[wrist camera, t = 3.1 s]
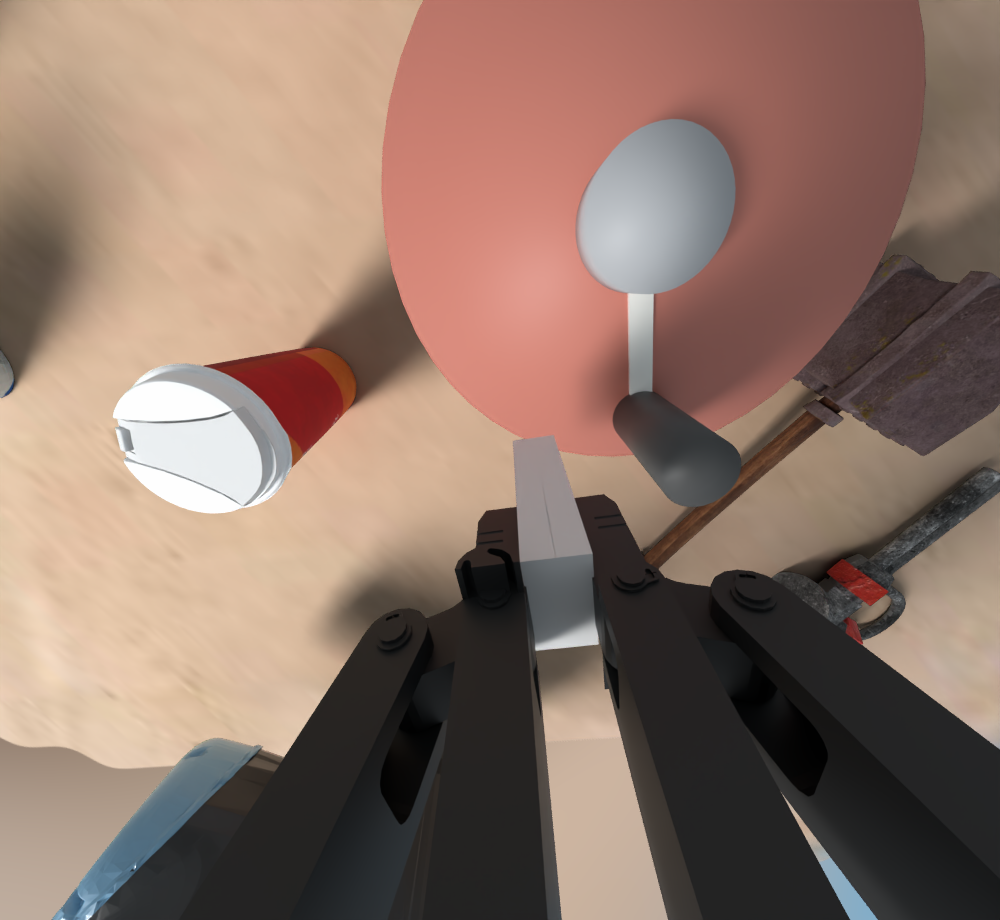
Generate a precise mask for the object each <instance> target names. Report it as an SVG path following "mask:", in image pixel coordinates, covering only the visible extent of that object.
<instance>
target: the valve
mask: <svg viewBox="0 0 1000 920" xmlns="http://www.w3.org/2000/svg"><path fill="white" fill-rule="evenodd" d="M999 492H1000V473H998V472H996V471H994V470H992V469H990V468H987V467H983V468H982V469H981V470H980V471H978V472H977V473H976V474H975V475H973V476H972V477H971V478H970V479H968V480H967V481H966V482H965V483H963V484H962V485H961V486H960V487H958V488H957V489H956V490H955V491H953V492H952V493H951V494H950V495H948V496H947V497H946V498H945V499H943V500H942V501H941V502H940V503H938V504H937V505H936V506H935V507H933V508H932V509H931V510H930V511H928V512H927V513H926V514H925V515H923V516H922V517H921V518H920V519H918V520H917V521H916V522H915V523H913V524H912V525H911V526H910V527H908V528H907V529H906V530H905V531H903V532H902V533H901V534H900V535H898V536H897V537H896V538H895V539H893V540H892V541H891V542H890V543H888V544H887V545H886V546H885V547H883V548H882V549H881V550H880V551H878V552H877V553H876V554H875V555H873V556H872V557H871V558H870V559H867V558H866V557H864V556H862V555H861V554H856V555H854V556H851V557H849V558H847V559H841V560H840V561H839V562H838V563H837V564H835V565H834V566H833V567H832V568H831V569H829V570H828V571H827V572H826V573H827V574H829V575H830V576H831V577H830V578H829V579H826V578H824V579H823V580H822V581H821V582H820V583H819V584H817V583H815V582H814V581H812V580H811V579H809V578H808V577H806V576H803V575H801V574H797V573H792V572H781V573H777V574H776V575H775V576H774V577H772V579H773V580H775V581H777V582H778V583H780V584H782V585H783V586H785V587H786V588H787V589H789V590H790V591H791V592H793V593H794V594H795V595H797V596H798V597H799V598H801V599H802V600H803V601H805V602H806V603H807V604H809V605H810V606H811V607H812V608H814V609H815V610H816V611H818V612H819V613H820V614H822V615H823V616H824V617H826V618H827V619H828V620H830V621H831V622H832V623H834V624H835V625H836V626H838V627H839V628H840V629H841V630H843V631H844V632H845V633H847V634H848V635H849V636H851V637H852V638H853V639H855V640H856V641H857V642H859V643H860V644H863V642H862V640H866V639H868V638H871V637H873V636H875V635H877V634H879V633H881V632H882V631H884V630H886V629H887V628H888V627H890V626H891V625H892V624H893V623H894V622H895V621H896V620H897V619H898V618H899V617H900V616H901V614H902V613H903V611H904V609H905V605H906V602H905V598H904V596H903V595H902V594H901V593H900V592H899V591H897V590H896V589H895V588H893V587H892V586H891V584H892V582H893V581H894V577H893V576H892V574H893V573H894V572H895V571H897V570H898V569H899V568H901V567H902V566H903V565H905V564H906V563H907V562H909V561H910V560H911V559H912V558H914V557H915V556H916V555H918V554H919V553H920V552H922V551H923V550H924V549H926V548H927V547H928V546H929V545H931V544H932V543H933V542H935V541H936V540H937V539H939V538H940V537H941V536H943V535H944V534H945V533H946V532H948V531H949V530H950V529H952V528H953V527H954V526H956V525H957V524H958V523H960V522H961V521H962V520H963V519H965V518H966V517H967V516H969V515H970V514H971V513H973V512H974V511H975V510H977V509H978V508H979V507H981V506H982V505H983V504H984V503H986V502H987V501H988V500H990V499H991V498H992V497H994V496H995V495H996V494H998V493H999ZM885 594H886V595H888V596H889V597H890V598H891V599H892V603H891V606H890V608H889V609H888V611H887V612H886V613H885V614H884V615H883V616H882V617H881V618H880V619H879V620H877V621H876V622H874V623H873V624H871V625H869V626H868V627H866V628H863V629H861V630H859V629H858V626H857V623H856V622H855V621H854V620H852V619H850V618H849V617H848V616H850V615H851V614H853V613H854V612H855V611H857V610H858V609H859V608H861V607H862V605H860V604H861V603H862V602H863V601H864V602H866V603H867V604H868V605H870V606H871V605H872V604H874V603H875V602H876V601H878V600H879V599H880V598H881V597H883V596H884V595H885Z"/></svg>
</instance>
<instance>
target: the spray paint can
mask: <svg viewBox="0 0 1000 920" xmlns="http://www.w3.org/2000/svg"><path fill="white" fill-rule="evenodd" d="M13 384H14V376H13V371H12V368H11V366H10V364H9V361H8V360H7V359H6V357H5V356H4V354H3V353H2V351H1V350H0V398H2V397H4V396H6V395H8V394H9V393H10V391H11V390H12V389H13Z"/></svg>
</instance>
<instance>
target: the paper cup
mask: <svg viewBox="0 0 1000 920" xmlns="http://www.w3.org/2000/svg"><path fill="white" fill-rule="evenodd" d="M355 395H356V380H355V377H354V374H353V372H352V370H351V368H350V367H349V366H348V364H347V363H346V362H345V361H344V360H343V359H342V358H341V357H340V356H338V355H337V354H335V353H333V352H331V351H329V350H326V349H323V348H302V349H295V350H289V351H283V352H277V353H272V354H266V355H260V356H255V357H249V358H244V359H238V360H233V361H227V362H222V363H216V364H211V365H205V366H201V365H193V364H171V365H166V366H161V367H158V368H156V369H153V370H151V371H149V372H147V373H146V374H145V375H143V376H142V377H140V378H139V380H138V381H137V382H136V383H135V384H134V385H133V387H132V388H131V389H130V390H128V391H127V392H126V393H125V394H124V395H123V396H122V398H121V399H120V400H119V402H118V404H117V406H116V408H115V410H114V414H113V418H117V419H118V424H119V427H115V429H116V433H117V437H118V441H119V445H120V449H121V450H122V451H124V452H125V453H126V456H127V458H125V459H124V463H125V464H126V466H127V467H128V468H129V470H130V471H131V472H132V473H133V474H134V476H135V477H136V478H137V479H138V480H139V481H140V482H141V483H142V484H144V485H145V486H146V487H147V488H148V489H150V490H151V491H152V492H154V493H155V494H156V495H158V496H160V497H161V498H163V499H165V500H166V501H168V502H171V503H173V504H175V505H177V506H180V507H183V508H185V509H188V510H193V511H197V512H204V513H224V512H230V511H234V510H237V509H240V508H245V507H251V506H254V505H257V504H260V503H262V502H263V501H265V500H267V499H269V498H270V497H271V496H272V495H274V494H275V493H276V492H277V491H278V490H279V488H280V487H281V486H282V484H283V482H284V480H285V478H286V476H287V474H288V473H289V471H290V469H291V468H292V467H293V466H294V465H295V464H296V463H297V462H298V461H299V460H300V459H301V458H302V457H303V456H304V455H305V454H306V453H307V452H308V450H309V449H310V448H311V447H312V446H313V445H314V444H315V443H316V442H317V441H318V440H319V439H320V438H321V437H322V436H323V435H324V434H325V433H326V432H327V431H328V430H329V429H330V428H331V427H332V426H333V425H334V424H335V423H336V422H337V421H338V420H339V418H340V417H341V416H342V415H343V414H344V413H345V412H346V411H347V410H348V408H349V407H350V406H351V404H352V403H353V401H354V399H355Z"/></svg>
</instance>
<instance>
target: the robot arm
mask: <svg viewBox="0 0 1000 920" xmlns="http://www.w3.org/2000/svg"><path fill="white" fill-rule="evenodd" d="M513 450H514V468H515V485H516V503H517V507H512V508H505V509H497V510H489V511H486V512H485V513H484V515H483V516H482V518H481V519H480V520H479V522H478V531H477V540H476V548H475V549H473V550H471V551H469V552H467V553H466V554H465V555H464V556H463V557H462V558H461V559H460V560H459V561H458V563H457V565H456V568H455V572H456V576H457V579H458V583H459V587H460V590H461V594H462V598H463V600H462V601H461V602H459V603H458V604H457V605H455V606H454V607H453V608H451V609H449V610H446V611H444V612H442V613H439V614H437V615H434V616H432V617H429V618H427V619H426V618H425V617H424V616H423V615H422V614H421V612H420V611H417V610H413V609H410V608H408V609H397V610H395V611H392V612H390V613H387V614H385V615H384V616H382V617H381V618H379V619H378V620H376V621H375V622H374V623H373V624H372V625H371V627H370V628H369V629H368V630H367V631H366V633H365V634H364V636H363V637H362V639H361V640H360V642H359V643H358V645H357V646H356V648H355V649H354V651H353V653H352V654H351V656H350V657H349V659H348V660H347V662H346V663H345V665H344V666H343V668H342V669H341V671H340V672H339V674H338V676H337V677H336V679H335V680H334V682H333V683H332V685H331V686H330V688H329V689H328V691H327V692H326V694H325V696H324V697H323V699H322V700H321V702H320V703H319V705H318V706H317V708H316V709H315V711H314V712H313V714H312V716H311V717H310V719H309V720H308V722H307V723H306V725H305V726H304V728H303V729H302V731H301V732H300V734H299V736H298V737H297V739H296V740H295V742H294V743H293V745H292V746H291V748H290V749H289V751H288V752H287V754H286V755H285V757H282V756H279V755H277V754H274V753H271V752H268V751H265V750H262V747H263V746H261V745H256V746H250V745H246V744H242V743H238V742H234V741H231V740H227V739H223V738H213V739H209V740H206V741H204V742H202V743H200V744H198V745H197V746H195V747H194V748H193V749H192V750H190V751H189V752H188V753H187V754H186V755H185V756H184V757H183V758H182V759H181V760H180V761H179V762H178V763H177V764H176V766H175V767H174V768H173V769H172V770H171V771H170V773H169V774H168V775H167V776H166V777H165V778H164V779H163V781H162V782H161V783H160V784H159V785H158V786H157V788H156V789H155V790H154V791H153V792H152V794H151V795H150V796H149V797H148V798H147V799H146V801H145V802H144V803H143V804H142V805H141V807H140V808H139V809H138V810H137V812H136V813H135V814H134V815H133V816H132V818H131V819H130V820H129V821H128V823H127V824H126V825H125V826H124V827H123V829H122V830H121V831H120V832H119V834H118V835H117V836H116V837H115V839H114V840H113V841H112V842H111V844H110V845H109V846H108V847H107V849H106V850H105V851H104V852H103V854H102V855H101V856H100V857H99V859H98V860H97V861H96V863H95V864H94V865H93V866H92V868H91V869H90V870H89V872H88V873H87V874H86V875H85V877H84V878H83V879H82V881H81V882H80V884H79V886H78V887H77V888H76V889H75V891H74V892H73V893H72V894H71V896H70V897H69V898H68V900H67V901H66V903H65V904H64V905H63V907H62V908H61V909H60V910H59V911H58V912H57V913H56V915H55V916H54V917H53V919H52V920H562V918H561V907H560V896H559V886H558V875H557V864H556V853H555V842H554V832H553V821H552V810H551V799H550V789H549V778H548V769H547V768H548V767H547V756H546V745H545V734H544V723H543V712H542V702H541V691H540V680H539V671H538V666H537V660H536V651H538V650H548V649H558V648H568V647H578V646H588V645H598V644H599V643H598V636H599V640H600V644H601V647H602V651H603V667H604V684H605V689H609V691H610V695H611V699H612V702H613V706H614V710H615V714H616V718H617V722H618V726H619V730H620V734H621V738H622V741H623V745H624V749H625V753H626V757H627V761H628V765H629V769H630V772H631V777H632V780H633V784H634V788H635V792H636V796H637V800H638V804H639V808H640V812H641V815H642V819H643V823H644V827H645V831H646V835H647V839H648V843H649V847H650V851H651V855H652V858H653V862H654V866H655V870H656V874H657V878H658V882H659V886H660V890H661V894H662V897H663V901H664V905H665V909H666V913H667V917H668V920H850V919H849V917H848V915H847V913H846V912H845V910H844V908H843V906H842V904H841V902H840V900H839V899H838V897H837V895H836V893H835V891H834V889H833V888H832V886H831V884H830V882H829V880H828V878H827V877H826V875H825V873H824V871H823V869H822V867H821V865H820V864H819V862H818V860H817V858H816V856H815V854H814V852H813V851H812V849H811V847H810V845H809V843H808V841H807V840H806V838H805V836H804V834H803V832H802V830H801V828H800V827H799V825H798V823H797V821H796V819H795V817H794V816H793V814H792V812H791V810H790V808H789V806H788V805H787V803H786V801H785V799H784V797H785V798H786V799H787V800H788V802H789V803H790V804H791V806H792V807H793V808H794V810H795V811H796V812H797V814H798V815H799V816H800V818H801V819H802V820H803V822H804V823H805V824H806V825H807V827H808V828H809V829H810V831H811V832H812V833H813V835H814V836H815V837H816V839H817V840H818V841H819V843H820V844H821V845H822V847H823V848H824V849H825V851H826V852H827V853H828V854H829V856H830V857H831V858H832V860H833V861H834V862H835V864H836V865H837V866H838V867H839V869H840V870H841V871H842V873H843V874H844V875H845V877H846V878H847V879H848V881H849V882H850V883H851V885H852V886H853V887H854V889H855V890H856V891H857V893H858V894H859V895H860V896H861V898H862V899H863V901H864V902H865V903H866V904H867V906H868V907H869V908H870V910H871V911H872V912H873V914H874V915H875V916H876V918H877V919H878V920H1000V749H998V748H997V747H996V746H994V745H993V744H992V743H990V742H989V741H988V740H986V739H985V738H984V737H983V736H981V735H980V734H979V733H977V732H976V731H975V730H973V729H972V728H971V727H969V726H968V725H967V724H965V723H964V722H963V721H961V720H960V719H959V718H957V717H956V716H955V715H954V714H952V713H951V712H950V711H948V710H947V709H946V708H944V707H943V706H942V705H940V704H939V703H938V702H936V701H935V700H934V699H932V698H931V697H930V696H928V695H927V694H926V693H925V692H923V691H922V690H921V689H919V688H918V687H917V686H915V685H914V684H913V683H911V682H910V681H909V680H907V679H906V678H905V677H903V676H902V675H901V674H899V673H898V672H897V671H896V670H894V669H893V668H892V667H890V666H889V665H888V664H886V663H885V662H884V661H882V660H881V659H880V658H878V657H877V656H876V655H874V654H873V653H872V652H870V651H869V650H868V649H867V648H865V647H864V646H863V645H861V644H860V643H859V642H857V641H856V640H855V639H853V638H852V637H851V636H849V635H848V634H847V633H845V632H844V631H843V630H841V629H840V628H839V627H838V626H836V625H835V624H834V623H832V622H831V621H830V620H828V619H827V618H826V617H824V616H823V615H822V614H820V613H819V612H818V611H816V610H815V609H814V608H812V607H811V606H810V605H809V604H807V603H806V602H805V601H803V600H802V599H801V598H799V597H798V596H797V595H795V594H794V593H793V592H791V591H790V590H789V589H787V588H786V587H785V586H783V585H782V584H780V583H778V582H777V581H775V580H773V579H772V578H770V577H768V576H765V575H762V574H759V573H756V572H753V571H744V570H732V571H725V572H723V573H721V574H719V575H718V576H716V577H715V578H714V580H713V582H712V584H711V587H708V586H701V585H693V584H685V583H681V582H676V581H673V580H670V579H667V578H665V577H664V576H663V575H662V574H661V572H660V571H659V570H658V569H657V568H656V567H654V566H653V565H651V564H649V563H647V562H646V561H645V559H644V557H643V555H642V553H641V551H640V549H639V547H638V545H637V544H636V542H635V540H634V538H633V536H632V534H631V532H630V530H629V528H628V526H627V525H626V522H625V520H624V518H623V516H622V515H621V512H620V510H619V508H618V506H617V504H616V503H615V502H614V501H612V500H611V499H610V498H608V497H607V496H605V495H604V494H603V495H595V496H588V497H580V498H574V495H573V492H572V489H571V486H570V483H569V480H568V477H567V474H566V471H565V468H564V465H563V462H562V459H561V456H560V453H559V450H558V447H557V444H556V441H555V438H554V435H550V436H543V437H536V438H529V439H522V440H515V441H513ZM780 791H781V792H780ZM782 794H783V795H784V797H783V795H782Z"/></svg>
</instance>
